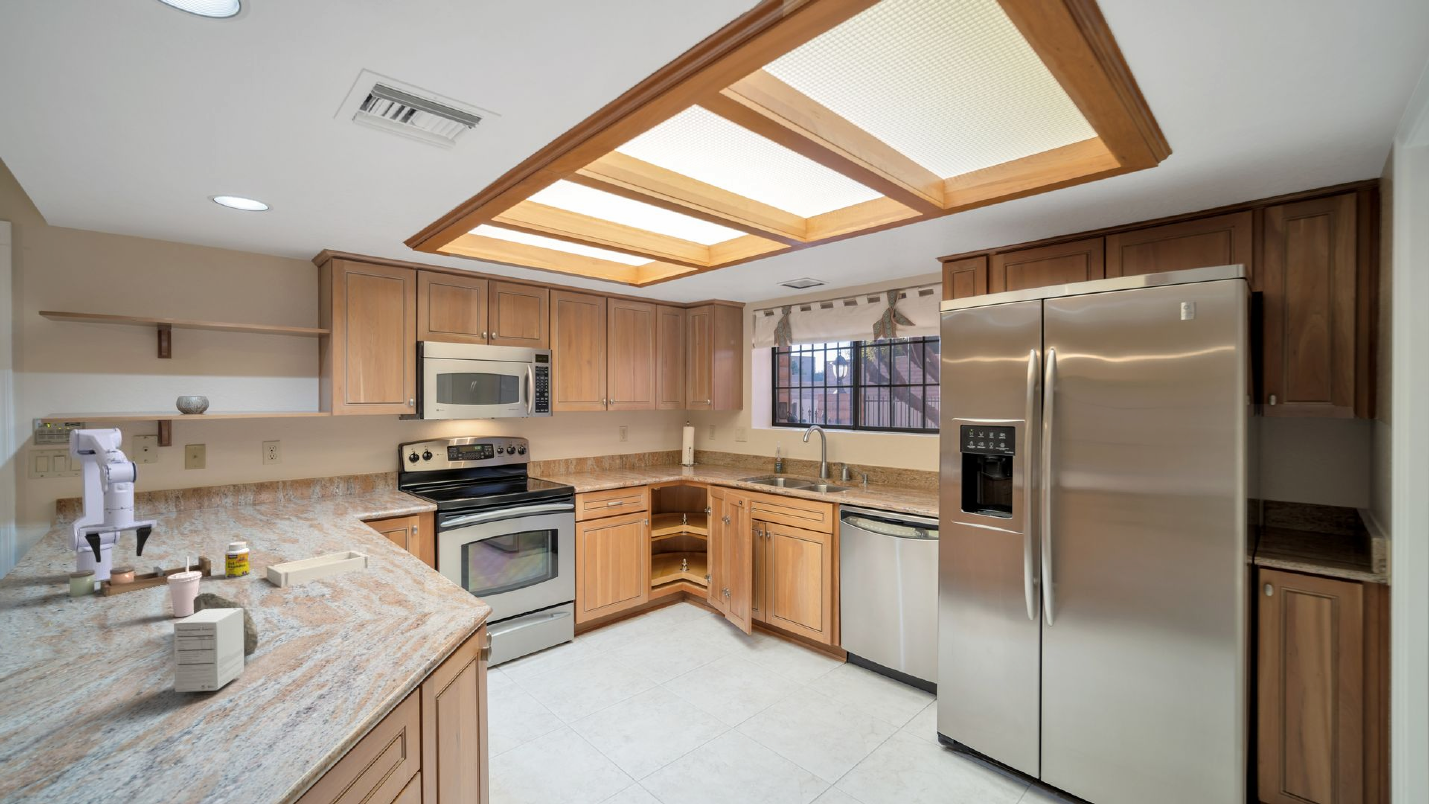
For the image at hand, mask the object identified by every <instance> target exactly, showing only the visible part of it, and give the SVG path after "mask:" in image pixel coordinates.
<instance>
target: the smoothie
mask: <svg viewBox="0 0 1429 804" xmlns="http://www.w3.org/2000/svg"><path fill="white" fill-rule="evenodd" d="M189 561H190V556H187V555H186V556H185V567H186V572H183V573H177V574H174V575H171V576H168V577H167V582H169V584H168V586H169V591H170V597H171V602H172V603H171V604H172V607H173V613H174V617H176V618H183V617H189V616H191V615H193V614H194V603H193V602H194V601H193V600H194V599H195V597H197V596H199V594H198V593H199V588H200V579H201V578H200V577H202V573H201V572H199V571H190V572H189V566H190V562H189Z"/></svg>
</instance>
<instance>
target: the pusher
mask: <svg viewBox="0 0 1429 804" xmlns="http://www.w3.org/2000/svg"><path fill="white" fill-rule="evenodd" d="M152 567H153V566H152ZM163 571H164V570H163V569H162V568H161V567H159V566H154V567H153V571H152V573H153V578H158V577H163V576H166V573H165V572H164V573H163Z"/></svg>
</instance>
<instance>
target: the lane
mask: <svg viewBox="0 0 1429 804" xmlns="http://www.w3.org/2000/svg"><path fill="white" fill-rule="evenodd" d="M197 559H198V564H196V565H195V564H194V565H189V572H190V571H199V572H201V573H202V577H200V579H202V578H208V577H211V576H212V560H211V559H210V558H207V557H205V556H204V555H199V556H198V557H197ZM164 572H165V573H166V576H163V577H158V578H153V572H148V573H147V572H146V573H143V574H142V573H141V574H136V575H135V574H134V582H130V583H124V584H118V585H113V586H110V579H107V580H101V581H99V582H100V584H99V585H100V588H99V589H100V592H101V593H102V594H103V595H104V597H106V598H107V597H112V595H113V596H117V595H116V594H118V595H123V594H127V593H126V592H128V593H131V592H130V591H133V592H137V590H138V591H142V590H141V589H143V590H146V589H145V588H148V589H153V588H157V587H156V586H158V587H161V586H160V585H163V586H168V585H169V582H167V577H168V576H171V575H174V574H177V573H183V572H186V566H183V567H177V568H171V569H165V570H163V573H164ZM167 584H168V585H167ZM152 587H153V588H152ZM122 593H123V594H122Z"/></svg>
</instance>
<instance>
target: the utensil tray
mask: <svg viewBox="0 0 1429 804" xmlns="http://www.w3.org/2000/svg"><path fill="white" fill-rule="evenodd" d="M368 568H369V569H370V568H371V555H368V554H366V553H363V552H360V551H357V550H353V549H352V550H347V551H346V550H345V551H342V552H336V553H330V554H326V555H325V554H324V555H320V556H316V557H310V558H309V557H308V558H304V559H300V560H299V559H298V560H294V561H288V562H284V563H283V562H282V563H277V564H273V565H267V566H266V580H268V581H270V582H271V583H273V584H275V585H277V586H278V587H280V588H284V587H290V586H293V585H298V584H304V583H308V582H313V581H317V580H321V579H324V578H329V577H330V578H331V577H333V576H339V575H342V574H347V573H350V572H356V571H360V570H364V569H368Z"/></svg>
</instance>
